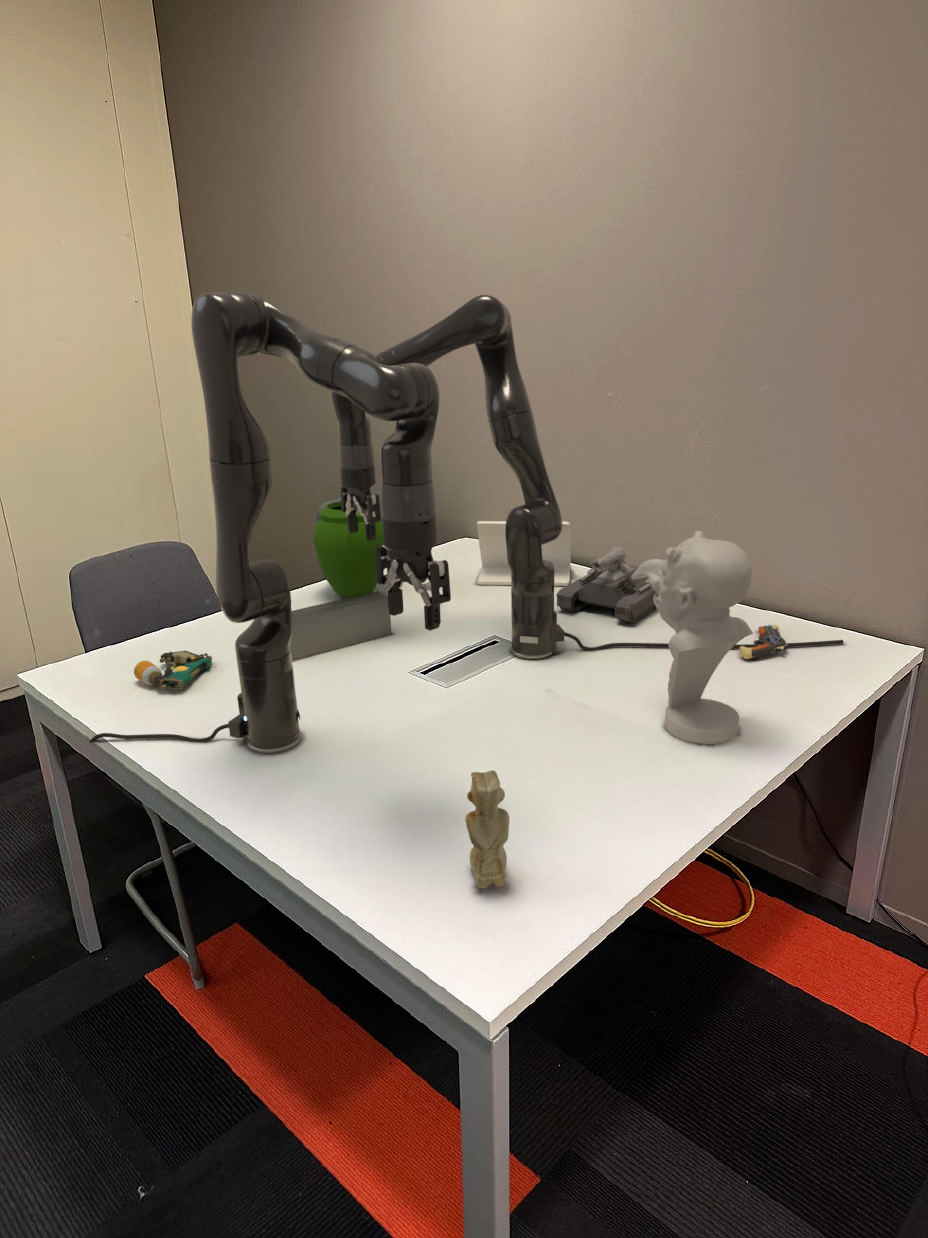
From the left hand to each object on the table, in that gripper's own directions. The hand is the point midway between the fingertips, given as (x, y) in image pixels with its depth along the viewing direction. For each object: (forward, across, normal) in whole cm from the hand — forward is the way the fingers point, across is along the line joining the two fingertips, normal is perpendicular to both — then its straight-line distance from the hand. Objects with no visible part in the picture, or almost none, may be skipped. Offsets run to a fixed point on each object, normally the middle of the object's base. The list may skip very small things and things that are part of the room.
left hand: (414, 621), depth 125 cm
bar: (+29, -63, +26) cm, 74 cm away
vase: (+29, -88, +48) cm, 104 cm away
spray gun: (+29, -72, -9) cm, 78 cm away
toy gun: (+29, +5, +91) cm, 96 cm away
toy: (+29, -34, +90) cm, 100 cm away
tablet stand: (+29, -68, +91) cm, 117 cm away
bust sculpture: (+29, +14, +49) cm, 59 cm away
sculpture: (+29, +22, -7) cm, 37 cm away
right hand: (+5, -62, +34) cm, 71 cm away
